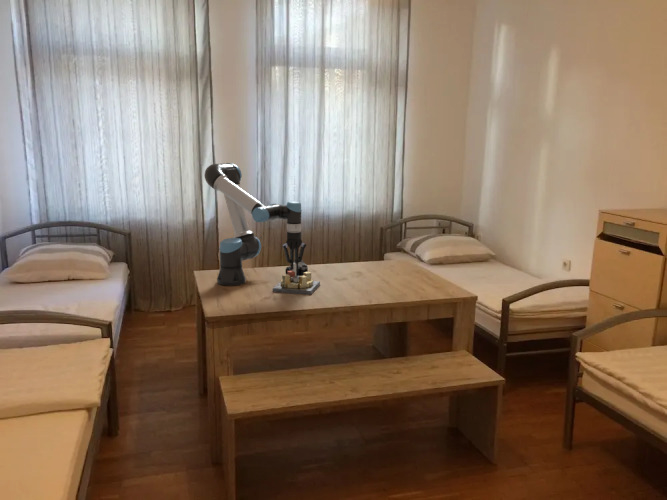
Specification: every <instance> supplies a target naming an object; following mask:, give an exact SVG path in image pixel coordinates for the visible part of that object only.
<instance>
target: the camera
mask: <svg viewBox="0 0 667 500" xmlns="http://www.w3.org/2000/svg"><path fill="white" fill-rule="evenodd" d="M294 263H295V260H294ZM287 271H292V269H291V268H290V266H287V267H286V268H285V275H287ZM304 272H309V270H308V264H306V263H305V261H303V260H302V261H301V262H299V263H298V269H296V276H303V273H304Z"/></svg>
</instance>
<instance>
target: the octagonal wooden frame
mask: <svg viewBox="0 0 667 500" xmlns="http://www.w3.org/2000/svg"><path fill="white" fill-rule="evenodd" d="M292 276H295V272H293V271H287V275H286V274H282V277H281V278H282V279H281V280H280V282H281V285H282V286H284V287H288V288H306V287H311V286H312V285H313V281H314V280H313V278H312V272H310V271H308V272H304V273H303V276H299V283H293V282H291V277H292Z"/></svg>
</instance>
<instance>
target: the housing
mask: <svg viewBox="0 0 667 500" xmlns="http://www.w3.org/2000/svg"><path fill="white" fill-rule="evenodd" d="M291 282H293V283H299V276H292V277H291ZM319 286H321V281H319V280H313V285H312V286H311V287H306V288H288V287H284V286H282V285H281V281H280V282H278V283H276V285H275V286H273V287H272V292H273V293H281V294H282V293H285V294H293V295H294V294H296V295H312V294H313V293H314V292H315V291H316V290H317V289H318V287H319Z"/></svg>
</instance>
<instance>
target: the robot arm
mask: <svg viewBox="0 0 667 500" xmlns="http://www.w3.org/2000/svg"><path fill="white" fill-rule="evenodd" d="M242 175H243V174H242V170H241V169H240V168H239V166H238V165H237V164H235V163H230V162H226V163H225V162H224V163H212V164H210V165H208V166H207V167H206V169H205V170H204V180H205V181H206V183H207V184H208V186H209V187H211V188H212V189H213V190H215V191H219V192H221V193H222V194H223V195H224V200H225V204H226V207H227V211H228V214H229V218H230V221H231V226H232V228H233V232H234V236H233V237H229V238H225V239H222V240H221V241H220V243H219V272H218V275H217V278H216V283H217V284H218V285H219V286H228V287H232V286H240V285H244V284H245V283H246V282H247V281H246V276H245V272H244V270H243V261H246V260H250V259H254V258H256V257H257V256H259V254H260V253H261V251H262V243H261V241H260V239H259V238H258V237H256V236H255V233H254V231H253V230H251V229H250V226H249V222H248V218H247V214H246V211H247V212H248V213H250V214H251V216H252V219H253V221H255V222H257V223H265V222H269V221H274V220H286V241H285V243H284V244H282V245H281V247H282V249H283V251H284V254H285V258H286V259H285V260H286V262H287V263H289V264H290V268H291V269H292V271H293V272H295V276H296V269H298V263H299V262H301V261H303V256H304V252H305V248H306V246H307V244H306V243H304V242H303V241H302V232H301V231H302V211H303V209H302V203H301V202H299V201H294V200H293V201H292V200H291V201H287V203H286V204H279V203H269V204H268V205H265V204H263V203H261V201H259V200H258V199H256V198H255V197H253V195H250V194H249V193H248V192H246V191H245V190H244V189H242V187H241V180H242V177H243V176H242ZM288 248H289V251H288ZM299 248H300V249H299ZM294 261H295V263H294Z"/></svg>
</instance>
